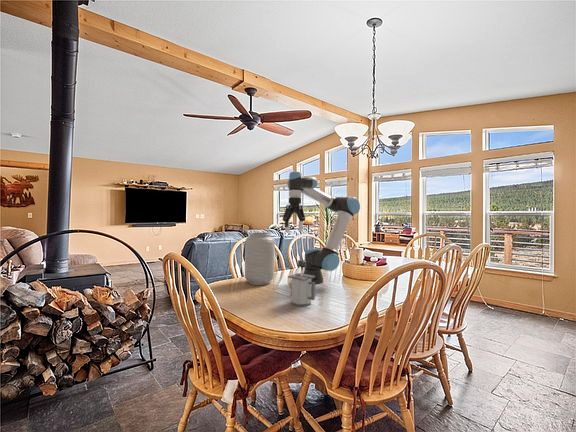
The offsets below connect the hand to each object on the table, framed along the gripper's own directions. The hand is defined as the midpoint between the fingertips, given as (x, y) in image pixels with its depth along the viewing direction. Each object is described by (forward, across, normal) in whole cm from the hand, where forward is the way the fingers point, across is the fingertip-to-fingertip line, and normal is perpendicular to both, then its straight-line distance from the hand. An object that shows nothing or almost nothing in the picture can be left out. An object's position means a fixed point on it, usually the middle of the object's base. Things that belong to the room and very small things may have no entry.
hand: (294, 232), depth 185 cm
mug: (+37, -1, +5) cm, 37 cm away
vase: (+37, -2, -30) cm, 48 cm away
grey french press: (+37, +15, +18) cm, 44 cm away
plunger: (+30, +15, +17) cm, 38 cm away
